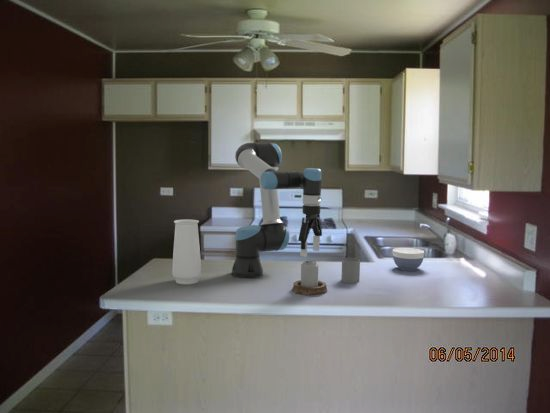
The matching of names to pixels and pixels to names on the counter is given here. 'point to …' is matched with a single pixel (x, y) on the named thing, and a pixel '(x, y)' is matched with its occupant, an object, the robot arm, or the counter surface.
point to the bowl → (408, 258)
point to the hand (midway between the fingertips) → (310, 253)
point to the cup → (350, 270)
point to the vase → (186, 252)
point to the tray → (310, 289)
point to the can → (309, 273)
